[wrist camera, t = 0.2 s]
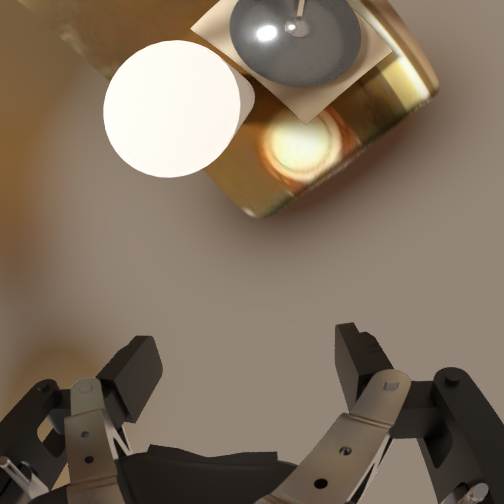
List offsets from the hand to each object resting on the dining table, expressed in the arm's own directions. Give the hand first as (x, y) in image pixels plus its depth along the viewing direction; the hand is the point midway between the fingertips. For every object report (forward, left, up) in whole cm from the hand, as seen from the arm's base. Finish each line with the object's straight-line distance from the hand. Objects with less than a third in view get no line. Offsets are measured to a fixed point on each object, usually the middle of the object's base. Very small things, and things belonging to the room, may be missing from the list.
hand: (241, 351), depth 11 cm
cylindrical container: (-9, +4, -31) cm, 33 cm away
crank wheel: (-9, +17, -29) cm, 35 cm away
